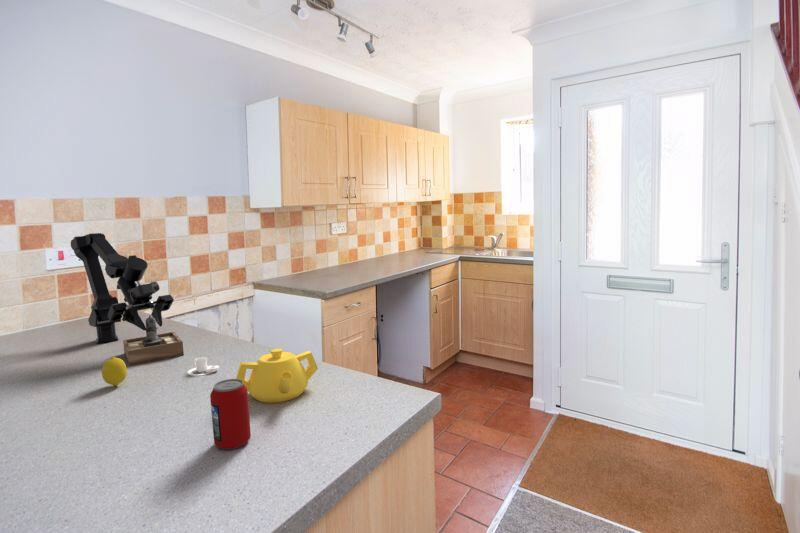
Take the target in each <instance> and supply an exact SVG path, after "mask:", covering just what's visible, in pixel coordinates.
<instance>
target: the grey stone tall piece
mask: <svg viewBox="0 0 800 533" xmlns="http://www.w3.org/2000/svg"><path fill="white" fill-rule="evenodd" d="M144 323H145V327H146V330H145V335H146V339H145V340H143V341H142V343H143V345H144V347H150V346H156V345H161V343H162V338H159V337H158V336H157V334H158V333H157V330H158V327H157V324H156V323H157V322H156V321H155V318H153V317H152V315H151V314H149V315H148V318H145V322H144Z"/></svg>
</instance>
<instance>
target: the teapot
mask: <svg viewBox="0 0 800 533" xmlns="http://www.w3.org/2000/svg"><path fill="white" fill-rule="evenodd" d="M269 352H270V353H266V354H263V355H261V356H260V357H259V358H258V360H257V361H256V362H254V361H252V362H251V361H250V362H249V361H241V362H240V363H239V366H238V371H237V374H236V377H235V379H240V380H242V381H243V384H244V385H245V386H246V388H247V391H248V393H249V394H250V395H251V396H252V397H253V398H254V399H255V400H256V401H258V402H261V403H268V404H271V403H272V404H274V403H275V404H276V403H282V402H286V401H291V400H294V399H296V398H297V397H299V396H301V395H302V393H303V392H304V391H305V390H307V389H306V388H307V387H308V384H309V380H310V379H311V377H312V376H313V375H314V374H315V373H316V372H317V370H319V367H318V365H317V362H316V360H315V358H314V355H313V354H312V352H311V350H308V351H304V352H301V353H299V354H296V355H295V354H294V353H292V352H291V351H289V352H288V351H283V349H282V348H273V349H272V350H269ZM304 360H306V361H307V363H308V366H307V367H306V368H305V367H304V365H303V364H302V362H301V361H304ZM247 369H248V370H251V373H250V376H249V379H247V378H246V373H247Z"/></svg>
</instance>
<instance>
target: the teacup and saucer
mask: <svg viewBox="0 0 800 533" xmlns="http://www.w3.org/2000/svg"><path fill="white" fill-rule="evenodd" d="M193 364H194V366H195V367H192V368H191V369H189V370H188V371H187V372H186V374H187V375H188V376H193V377H194V376H195V377H197V376H198V377H199V376H205V375H209V374H213V373H214V372H217V371H218V370H219V369H220V366H219V365H208V357H207V356H200V357H196V358H194V359H193ZM195 370H196V371H197V372H198V373H201V374H197V373H196V374H195V373H193V372H194V371H195ZM204 372H205V373H204Z"/></svg>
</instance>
